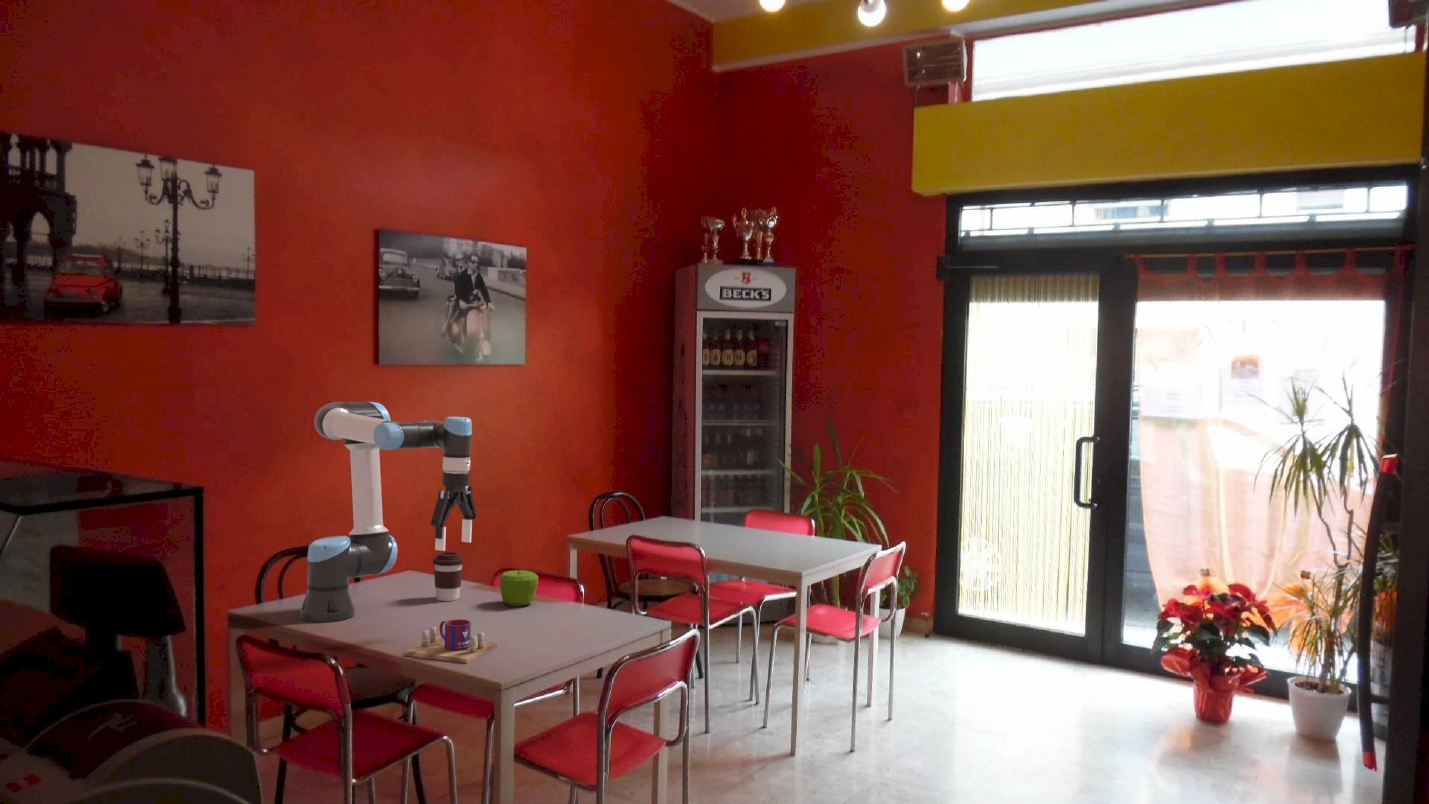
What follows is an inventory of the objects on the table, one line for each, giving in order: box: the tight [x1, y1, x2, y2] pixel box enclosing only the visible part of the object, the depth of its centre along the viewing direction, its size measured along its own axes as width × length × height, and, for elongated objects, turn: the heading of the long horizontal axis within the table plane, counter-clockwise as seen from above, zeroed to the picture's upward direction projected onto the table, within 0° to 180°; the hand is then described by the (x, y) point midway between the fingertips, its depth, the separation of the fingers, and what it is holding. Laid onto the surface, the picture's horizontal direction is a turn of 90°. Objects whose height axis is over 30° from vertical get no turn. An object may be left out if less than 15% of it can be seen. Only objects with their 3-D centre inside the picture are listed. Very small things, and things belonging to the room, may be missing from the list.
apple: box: [499, 569, 539, 607], centre depth 317 cm, size 12×12×11 cm
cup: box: [439, 618, 472, 651], centre depth 264 cm, size 7×10×7 cm
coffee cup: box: [432, 551, 465, 602], centre depth 321 cm, size 10×10×15 cm
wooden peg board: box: [405, 626, 498, 664], centre depth 263 cm, size 18×16×5 cm
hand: (453, 546), depth 277 cm, fingers open, 13 cm apart
